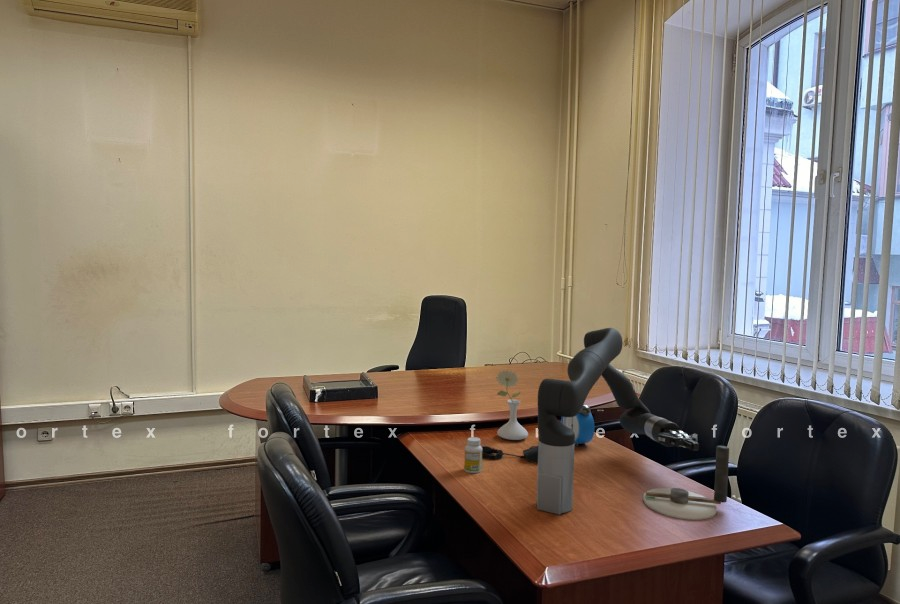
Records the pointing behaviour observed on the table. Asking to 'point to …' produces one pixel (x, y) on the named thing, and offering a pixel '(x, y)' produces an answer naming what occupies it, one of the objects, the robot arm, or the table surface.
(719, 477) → the dial
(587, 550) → the table surface
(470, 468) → the supplement bottle
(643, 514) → the table surface
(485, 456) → the computer mouse
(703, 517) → the plate
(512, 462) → the table surface
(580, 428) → the alarm clock
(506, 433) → the flower in vase
